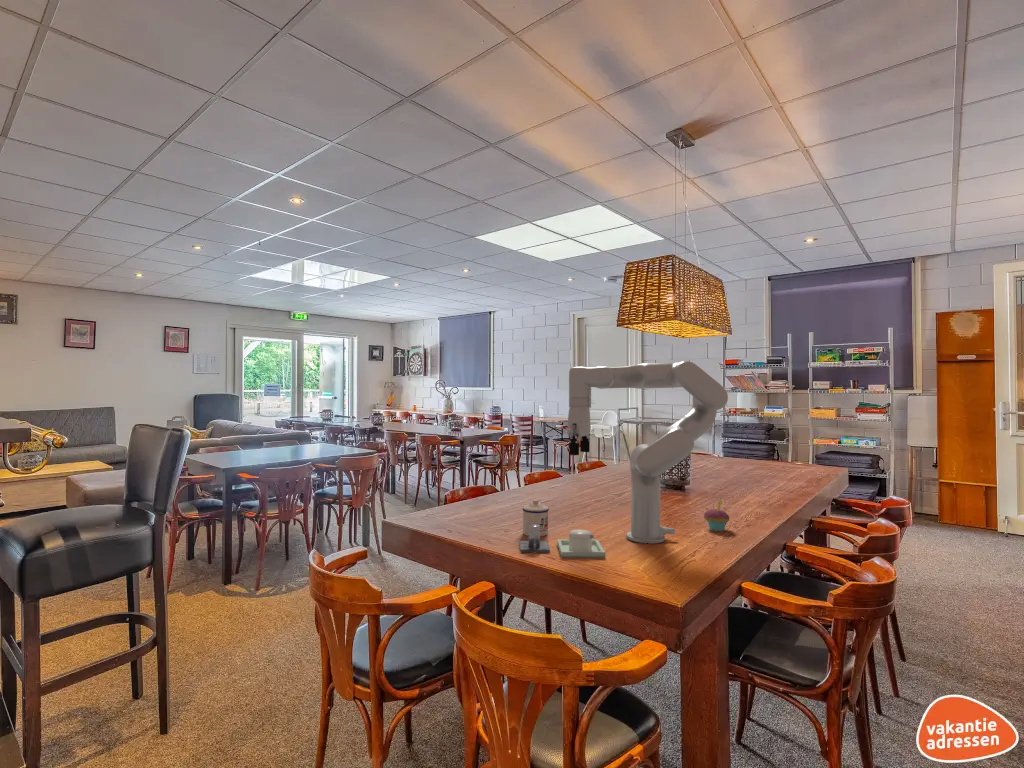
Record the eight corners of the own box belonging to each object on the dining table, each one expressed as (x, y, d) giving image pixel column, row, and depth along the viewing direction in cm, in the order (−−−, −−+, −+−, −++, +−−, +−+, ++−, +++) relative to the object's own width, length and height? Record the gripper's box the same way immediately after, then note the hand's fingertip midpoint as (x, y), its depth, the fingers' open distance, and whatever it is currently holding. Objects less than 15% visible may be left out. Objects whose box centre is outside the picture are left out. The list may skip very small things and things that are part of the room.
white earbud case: (574, 544, 163) (574, 528, 163) (596, 548, 159) (597, 531, 159) (565, 550, 157) (565, 533, 157) (589, 554, 153) (589, 537, 153)
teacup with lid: (542, 538, 171) (542, 503, 172) (518, 535, 176) (518, 501, 176) (555, 530, 182) (555, 497, 182) (532, 527, 186) (532, 494, 186)
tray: (597, 545, 165) (597, 539, 165) (605, 558, 152) (605, 552, 152) (557, 545, 164) (557, 539, 164) (561, 558, 151) (561, 552, 151)
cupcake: (734, 531, 182) (734, 497, 182) (716, 533, 179) (716, 499, 179) (716, 525, 190) (716, 493, 190) (698, 527, 187) (698, 494, 187)
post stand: (547, 544, 165) (547, 522, 166) (549, 552, 156) (550, 529, 156) (519, 544, 165) (519, 522, 165) (520, 552, 156) (520, 529, 156)
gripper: (579, 402, 184) (578, 450, 184) (559, 403, 169) (559, 455, 169) (599, 403, 180) (598, 451, 180) (580, 403, 165) (580, 457, 165)
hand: (579, 453), depth 174 cm, fingers open, 9 cm apart
